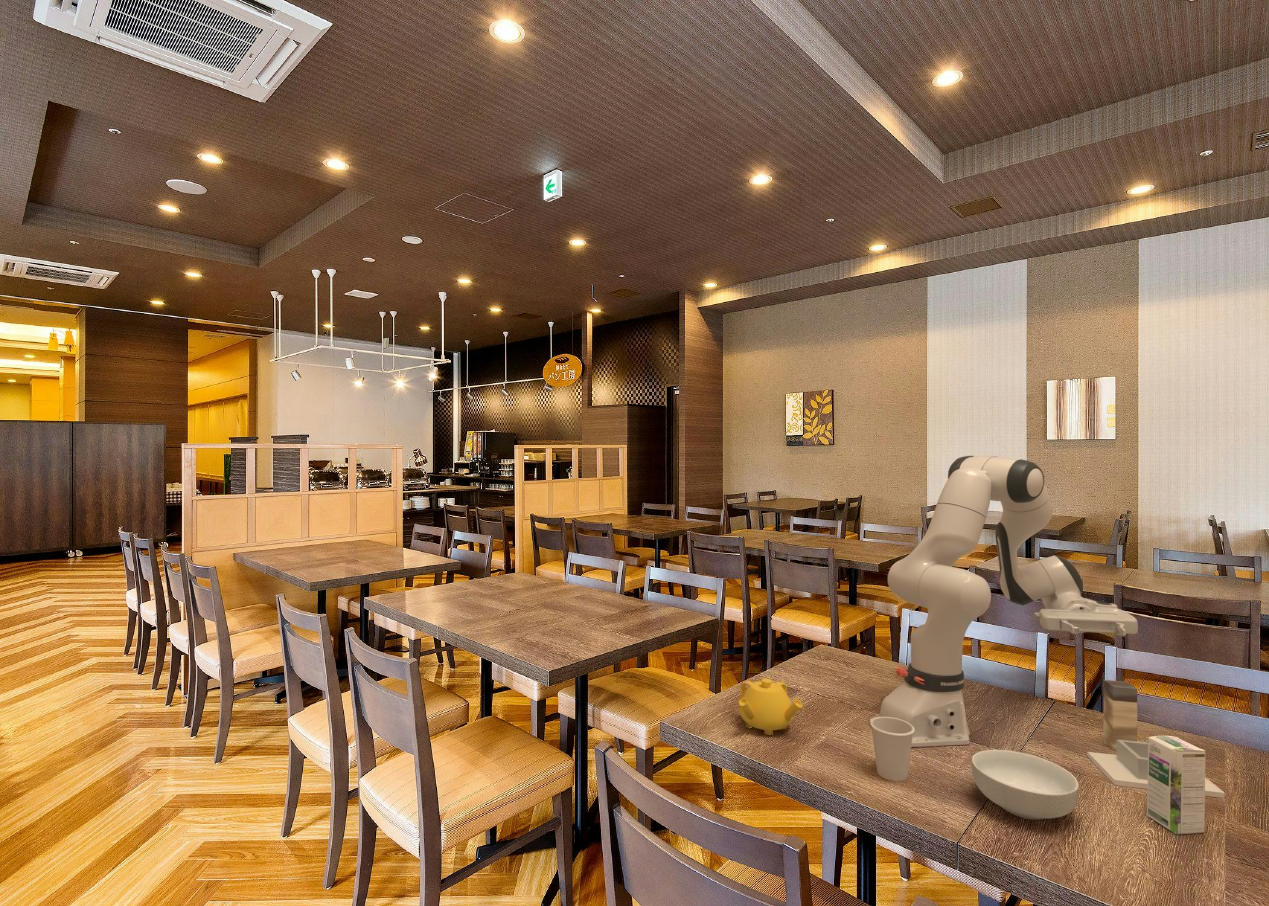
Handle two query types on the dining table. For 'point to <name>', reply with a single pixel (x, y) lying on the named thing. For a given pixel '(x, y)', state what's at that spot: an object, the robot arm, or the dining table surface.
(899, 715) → the robot arm
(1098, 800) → the dining table surface
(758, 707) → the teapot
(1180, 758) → the syrup box
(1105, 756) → the caddy
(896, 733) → the dixie cup
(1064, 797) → the cereal bowl
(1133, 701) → the tool handle
